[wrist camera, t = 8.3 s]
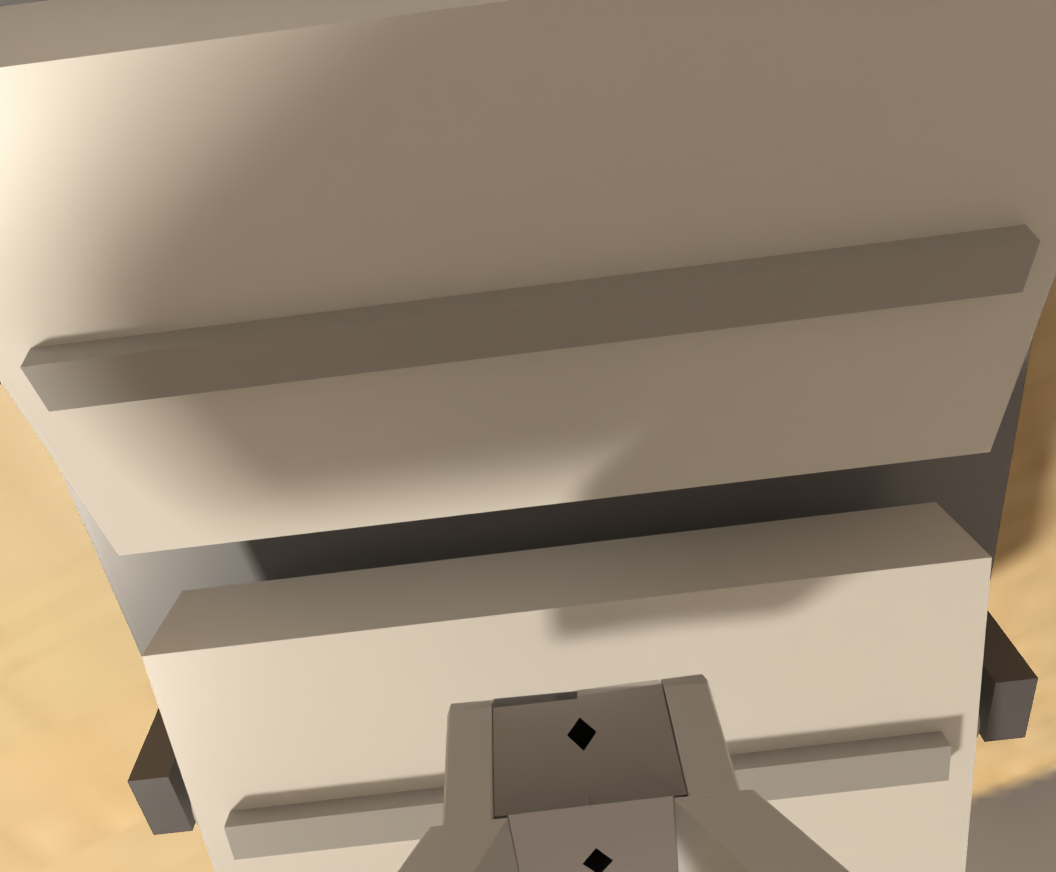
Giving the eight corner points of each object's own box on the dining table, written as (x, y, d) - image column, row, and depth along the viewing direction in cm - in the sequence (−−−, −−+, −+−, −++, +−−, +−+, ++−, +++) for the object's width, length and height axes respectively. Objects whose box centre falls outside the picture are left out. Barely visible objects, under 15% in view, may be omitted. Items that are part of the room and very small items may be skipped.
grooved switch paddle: (168, 592, 13) (117, 672, 11) (949, 500, 13) (1019, 567, 11) (263, 891, 15) (232, 997, 14) (929, 817, 15) (985, 915, 13)
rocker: (-130, 23, 8) (-241, 112, 7) (1105, -141, 8) (1241, -83, 7) (133, 466, 12) (96, 576, 11) (953, 368, 12) (1017, 468, 11)
